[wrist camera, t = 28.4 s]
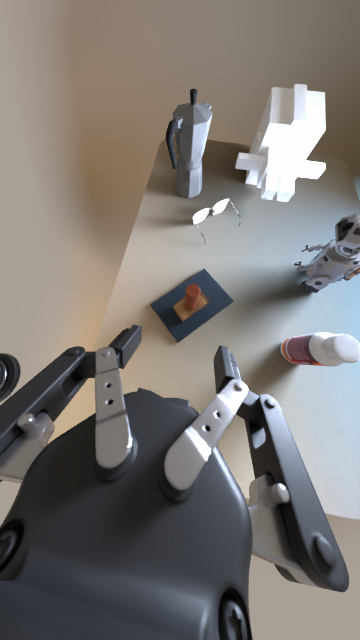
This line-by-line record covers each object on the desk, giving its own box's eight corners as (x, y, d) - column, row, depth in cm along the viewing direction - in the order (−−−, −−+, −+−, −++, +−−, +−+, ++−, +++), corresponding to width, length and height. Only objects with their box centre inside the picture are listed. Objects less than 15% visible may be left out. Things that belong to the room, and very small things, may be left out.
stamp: (182, 323, 34) (184, 309, 24) (173, 311, 34) (170, 292, 24) (204, 307, 35) (214, 287, 25) (194, 296, 36) (201, 272, 25)
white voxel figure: (224, 214, 46) (233, 153, 51) (299, 225, 45) (300, 161, 50) (245, 154, 32) (254, 77, 37) (354, 168, 31) (348, 87, 36)
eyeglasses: (225, 209, 44) (230, 195, 40) (240, 227, 43) (246, 215, 39) (189, 226, 42) (191, 214, 38) (203, 246, 41) (207, 235, 37)
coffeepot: (191, 172, 49) (198, 70, 31) (211, 185, 47) (230, 86, 30) (160, 195, 46) (149, 96, 28) (180, 209, 44) (181, 114, 27)
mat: (178, 342, 33) (178, 342, 32) (150, 305, 35) (150, 304, 35) (232, 301, 36) (233, 300, 35) (204, 270, 38) (204, 268, 38)
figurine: (291, 253, 40) (354, 195, 26) (329, 272, 38) (420, 221, 24) (279, 276, 38) (341, 227, 23) (319, 297, 36) (412, 258, 22)
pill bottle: (287, 367, 32) (342, 373, 21) (274, 342, 33) (320, 335, 22) (310, 359, 32) (375, 360, 22) (297, 334, 34) (351, 324, 23)
